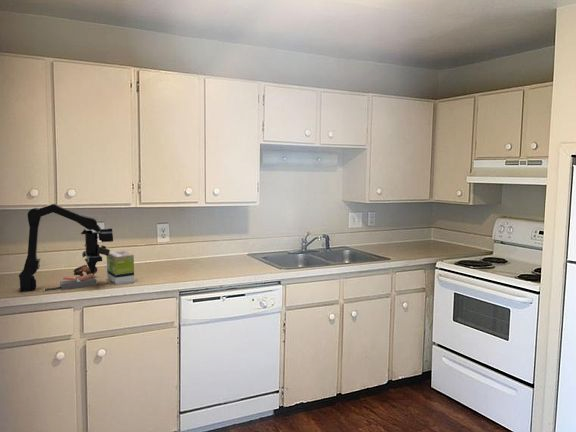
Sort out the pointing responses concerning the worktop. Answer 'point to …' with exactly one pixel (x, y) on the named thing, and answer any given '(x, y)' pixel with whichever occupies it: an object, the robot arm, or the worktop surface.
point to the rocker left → (69, 278)
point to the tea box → (120, 267)
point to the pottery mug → (85, 269)
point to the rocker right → (86, 276)
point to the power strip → (75, 284)
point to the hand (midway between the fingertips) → (92, 272)
